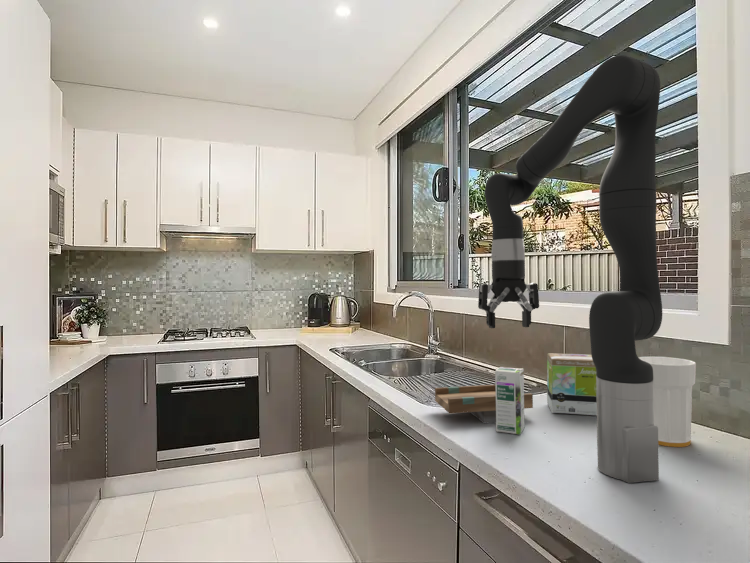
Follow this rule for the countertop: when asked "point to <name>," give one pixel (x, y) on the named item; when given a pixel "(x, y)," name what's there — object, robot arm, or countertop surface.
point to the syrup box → (509, 400)
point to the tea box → (571, 384)
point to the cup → (672, 398)
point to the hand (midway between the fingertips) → (509, 327)
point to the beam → (473, 400)
